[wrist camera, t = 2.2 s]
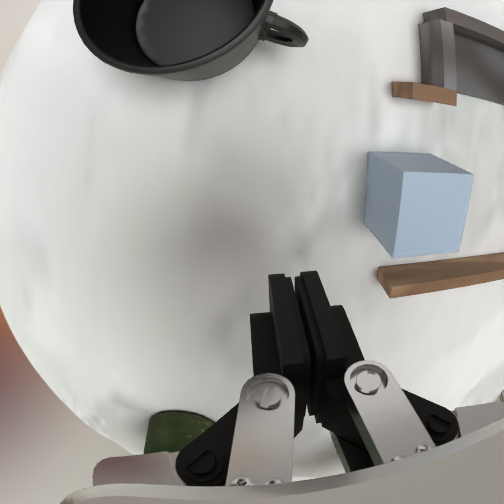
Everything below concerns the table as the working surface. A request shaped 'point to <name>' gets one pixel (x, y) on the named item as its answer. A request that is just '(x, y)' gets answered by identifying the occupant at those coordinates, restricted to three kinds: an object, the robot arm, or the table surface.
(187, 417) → the green bottle
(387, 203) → the block
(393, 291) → the trap box
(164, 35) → the mug
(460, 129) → the table surface
